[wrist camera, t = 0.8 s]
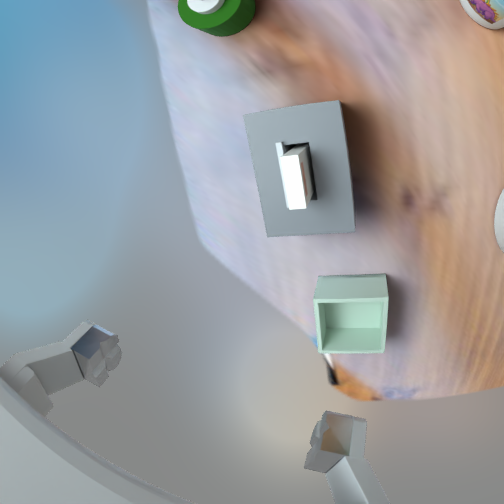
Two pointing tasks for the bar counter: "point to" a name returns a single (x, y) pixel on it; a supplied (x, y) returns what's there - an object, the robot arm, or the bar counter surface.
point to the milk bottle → (485, 12)
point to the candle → (217, 15)
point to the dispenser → (324, 166)
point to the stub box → (351, 313)
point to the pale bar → (298, 176)
